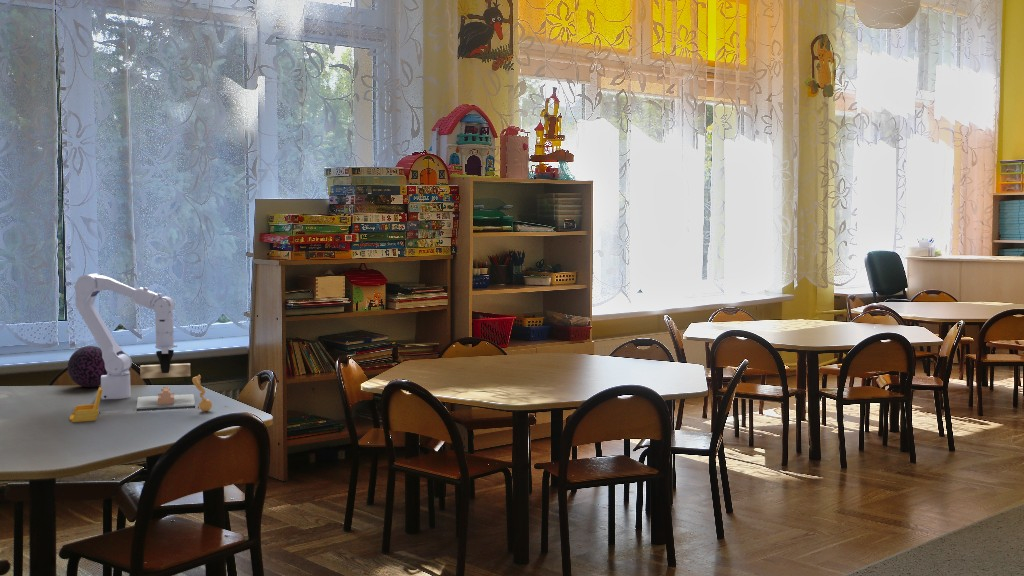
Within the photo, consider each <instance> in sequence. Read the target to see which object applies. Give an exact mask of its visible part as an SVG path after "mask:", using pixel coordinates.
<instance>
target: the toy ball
mask: <svg viewBox="0 0 1024 576" xmlns="http://www.w3.org/2000/svg"><path fill="white" fill-rule="evenodd" d="M67 373H68V376H69V377H70V379H71V380H72V382H74V383H75V384H77V385H78V386H81V387H83V388H96V387H98V386H101V375H107V373H108V372H107V371H106V369H105V363H104V360H103V358H102V350H101V349H100V347H99V346H94V345H87V346H83V347H80V348H78V349H77V350H75V351H74V352H73V353H72V354H71V356H70V357H69V359H68V361H67Z"/></svg>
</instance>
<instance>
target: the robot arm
mask: <svg viewBox="0 0 1024 576" xmlns="http://www.w3.org/2000/svg"><path fill="white" fill-rule="evenodd" d="M73 289H74V293H75V296H74V297H75V307H76V309H77V310H78V312H79V314H80V316H81V317H82V320H83V321H84V323H85V325H86V326H87V328H88V329H89V332H90V334H91V335H92V336H93V338H94V341H95V342H96V343H97V345H98V347H99V348H100V349H101V350H102V358H103V360H104V363H105V369H106V371H107V372H108V373H107V375H101V385H100V387H102V395H101V399H100V400H122V399H123V400H124V399H127V398H128V399H129V398H130V397H131V395H132V394H131V371H130V370H129V369H130V368H131V367H132V363H133V361H132V358H131V356H130V355H129V354H128V353H126V352H125V350H124V349H123V347H122V346H120V345H118V344H117V342H116V340H115V338H114V336H113V335H112V333H111V332H110V330H109V328H108V326H107V325H106V323H105V322H104V320H103V318H102V316H101V314H100V313H99V311H98V309H97V307H96V306H95V300H96V298H97V296H98V294H99V293H100V292H101V291H102V292H103V291H111V292H114V293H117V294H119V295H123V296H125V297H128V298H130V299H131V300H132V301H133V303H134V304H136V305H139V306H141V307H144V308H147V309H149V310H151V311H152V310H153V312H154V313H155V321H154V325H155V345H154V346H155V347H154V348H155V349H158V350H156V352H155V354H156V357H157V358H158V362H159V365H160V366H161V371H162V373H169V369H170V364H171V363H172V362H171V361H172V358H173V356H174V353H175V352H174V348H177V347H178V344H175V343H174V341H175V340H174V337H175V335H174V311H173V310H174V309H175V305H176V303H175V300H174V299H173V298H171V297H170V296H169V295H163V294H162V293H161V292H158V293H156V292H154V291H151V290H150V289H149V287H146V286H144V287H139V288H135V287H131V286H130V285H127V284H125V283H122V282H120V281H118V280H117V279H114V278H112V277H109V276H107V275H102V274H101V275H100V274H99V273H97V272H95V273H94V272H93V273H90V274H89V273H88V274H82V275H80V276H79V277H78V278H77V280H76V282H75V284H74V286H73ZM162 295H163V296H162Z"/></svg>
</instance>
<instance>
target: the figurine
mask: <svg viewBox="0 0 1024 576" xmlns="http://www.w3.org/2000/svg"><path fill="white" fill-rule="evenodd" d="M201 378H202V376H201V375H200V374H198V375H197V376H194V377H192V379H191V381H192V383H193V385H194V386H195V388H196V389H197V390H198V391H200V393H199V397H200V398H201V399H202V400H201V401H199V404H198V407H199V410H200V411H202V412H204V413H205V412H208V411H210V410H211V409H212V408H213V404H212V401H211V400H210V399H208V398H206V397H205V398H204V395H205V394H206V390H205V389H204V387H203V386H202V385H201Z"/></svg>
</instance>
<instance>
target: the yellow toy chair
mask: <svg viewBox="0 0 1024 576" xmlns="http://www.w3.org/2000/svg"><path fill="white" fill-rule="evenodd" d="M101 395H102V387H101V386H99V387H98V389H97V393H96V396H95V400H94V402H93V403H92V404H91V403H90V404H80V405H79V404H78V405H76V406H75V407H74V410H73V412H72V414H71V415H69V422H72V423H77V422H91V421H92V422H93V421H97V418H98V415H99V413H100V410H99V406H100V402H101V400H102V399H101Z"/></svg>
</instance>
